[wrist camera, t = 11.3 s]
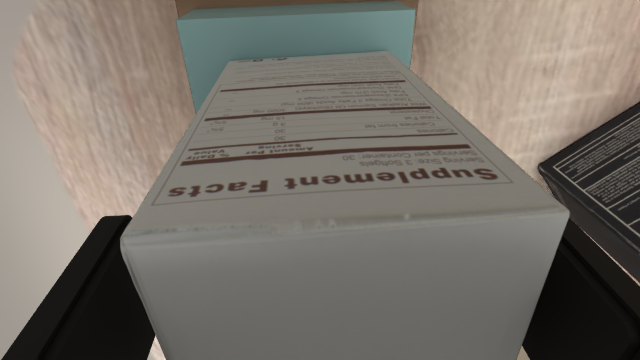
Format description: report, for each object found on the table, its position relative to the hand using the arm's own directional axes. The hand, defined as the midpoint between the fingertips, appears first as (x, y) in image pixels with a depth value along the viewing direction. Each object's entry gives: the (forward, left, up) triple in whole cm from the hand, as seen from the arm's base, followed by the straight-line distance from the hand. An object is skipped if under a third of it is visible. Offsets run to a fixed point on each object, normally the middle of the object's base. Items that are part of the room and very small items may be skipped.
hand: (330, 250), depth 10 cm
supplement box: (+1, 0, -10) cm, 10 cm away
